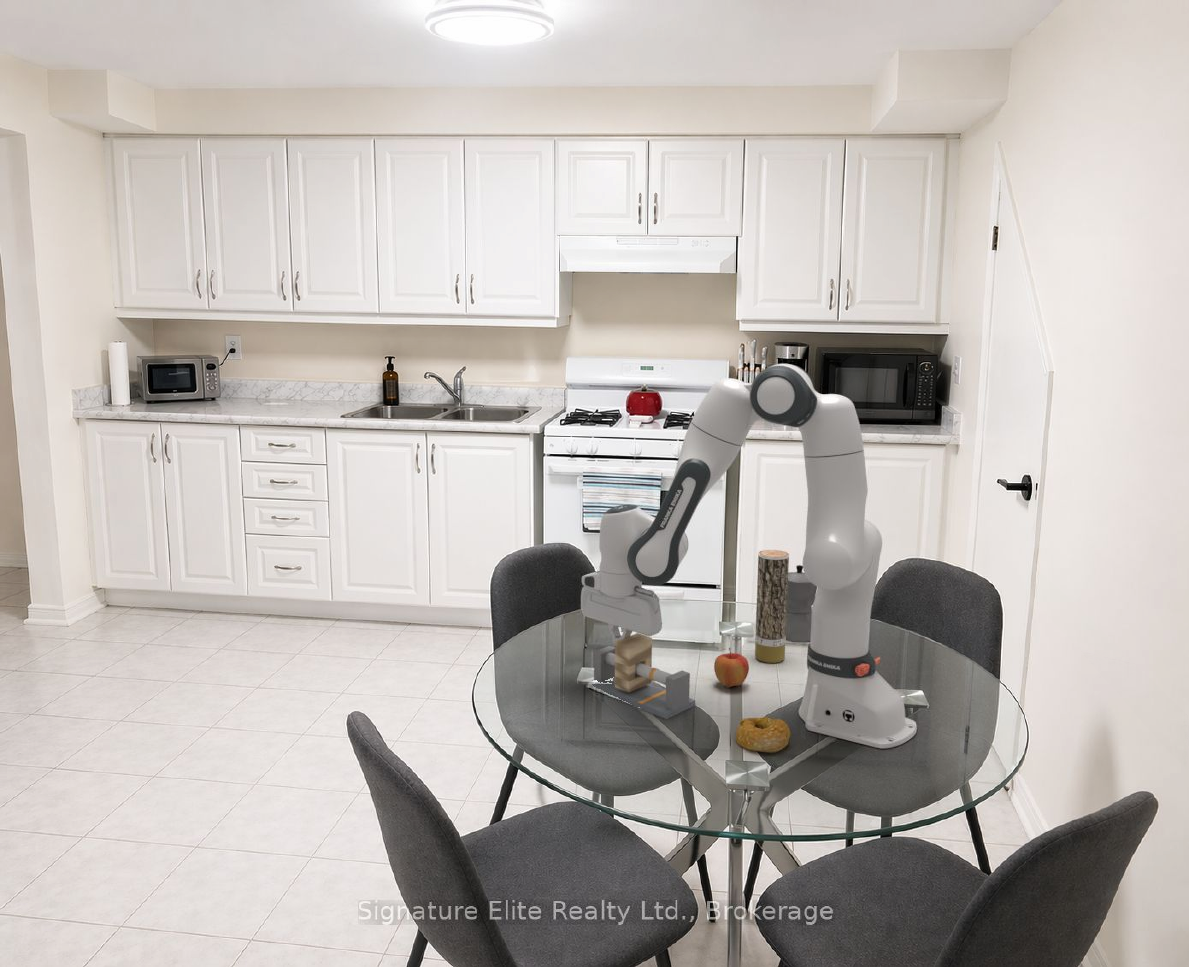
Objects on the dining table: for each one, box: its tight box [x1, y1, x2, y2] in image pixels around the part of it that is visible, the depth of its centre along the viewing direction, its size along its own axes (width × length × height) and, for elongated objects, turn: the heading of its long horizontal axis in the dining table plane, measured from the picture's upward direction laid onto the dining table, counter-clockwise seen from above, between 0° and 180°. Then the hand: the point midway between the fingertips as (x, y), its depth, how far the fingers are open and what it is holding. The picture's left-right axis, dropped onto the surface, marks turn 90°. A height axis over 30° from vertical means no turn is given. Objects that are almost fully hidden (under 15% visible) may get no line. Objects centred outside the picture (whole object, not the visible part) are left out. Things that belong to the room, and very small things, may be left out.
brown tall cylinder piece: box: [754, 549, 790, 664], centre depth 217 cm, size 7×7×25 cm
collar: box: [614, 632, 653, 692], centre depth 198 cm, size 4×7×10 cm, turn 136°
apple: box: [713, 647, 750, 689], centre depth 203 cm, size 7×7×8 cm
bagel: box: [735, 716, 791, 753], centre depth 177 cm, size 10×11×5 cm
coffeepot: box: [786, 564, 818, 643], centre depth 232 cm, size 15×9×18 cm, turn 70°
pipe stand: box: [592, 645, 696, 720], centre depth 197 cm, size 22×9×8 cm, turn 46°
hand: (620, 645), depth 200 cm, fingers closed
